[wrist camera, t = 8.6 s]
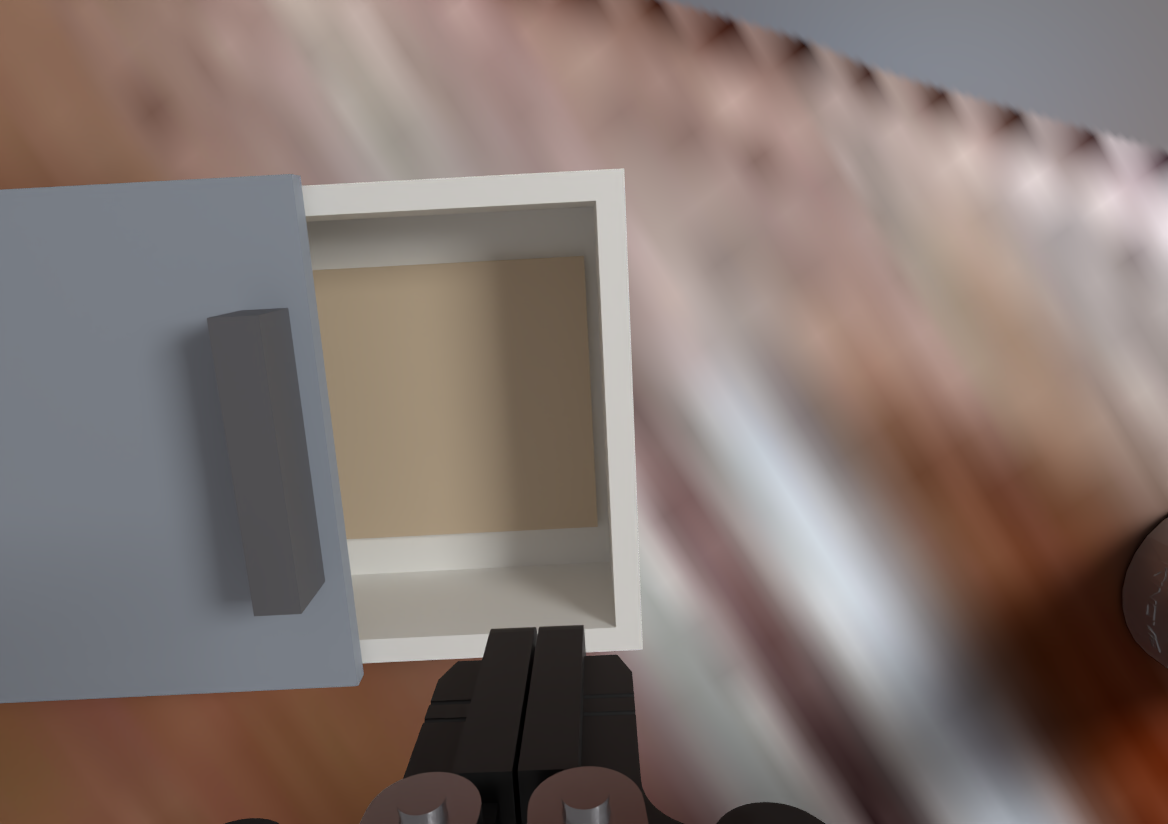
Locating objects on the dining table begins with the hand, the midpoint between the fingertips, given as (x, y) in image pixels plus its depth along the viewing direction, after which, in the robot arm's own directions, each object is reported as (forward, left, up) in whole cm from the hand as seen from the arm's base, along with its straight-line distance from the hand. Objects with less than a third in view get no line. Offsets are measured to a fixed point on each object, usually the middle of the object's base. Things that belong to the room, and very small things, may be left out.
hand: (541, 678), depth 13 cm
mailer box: (+7, 0, -23) cm, 25 cm away
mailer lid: (+19, 0, -16) cm, 25 cm away
